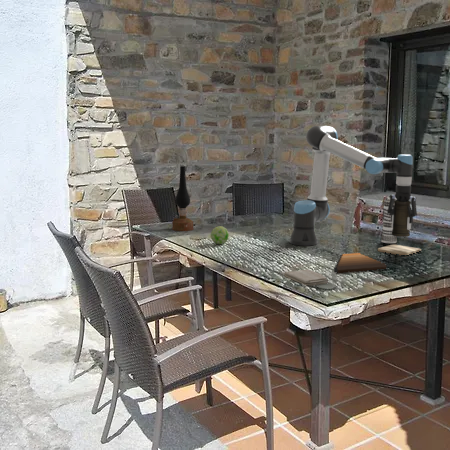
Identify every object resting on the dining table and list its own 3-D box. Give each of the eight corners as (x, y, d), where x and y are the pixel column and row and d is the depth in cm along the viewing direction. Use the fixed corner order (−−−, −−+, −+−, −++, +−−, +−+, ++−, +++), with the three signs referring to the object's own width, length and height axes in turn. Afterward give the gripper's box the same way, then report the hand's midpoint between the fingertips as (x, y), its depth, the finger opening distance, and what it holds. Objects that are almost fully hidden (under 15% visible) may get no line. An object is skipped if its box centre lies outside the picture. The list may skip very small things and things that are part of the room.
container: (413, 236, 297) (415, 201, 294) (400, 237, 293) (402, 202, 290) (400, 233, 305) (402, 199, 302) (387, 234, 301) (389, 200, 298)
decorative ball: (226, 246, 308) (227, 228, 306) (208, 245, 310) (208, 227, 308) (230, 242, 318) (230, 225, 316) (212, 242, 320) (213, 224, 318)
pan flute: (337, 274, 254) (386, 270, 262) (338, 267, 254) (386, 263, 261) (312, 261, 278) (358, 258, 285) (312, 255, 277) (358, 252, 285)
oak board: (405, 256, 289) (405, 253, 289) (377, 251, 300) (377, 248, 300) (420, 251, 300) (421, 248, 300) (393, 246, 311) (393, 244, 311)
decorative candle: (394, 244, 319) (397, 199, 315) (378, 242, 324) (381, 198, 320) (399, 241, 327) (402, 198, 322) (383, 239, 332) (385, 196, 327)
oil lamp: (197, 234, 360) (210, 171, 356) (182, 233, 347) (196, 168, 343) (179, 229, 367) (192, 168, 363) (165, 228, 354) (178, 165, 350)
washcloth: (306, 287, 233) (307, 280, 233) (282, 277, 249) (283, 270, 249) (330, 284, 239) (330, 277, 238) (305, 274, 254) (305, 267, 254)
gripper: (426, 185, 289) (423, 230, 293) (389, 182, 304) (386, 224, 308) (419, 186, 284) (416, 231, 288) (381, 183, 299) (379, 226, 303)
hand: (401, 228), depth 298 cm, fingers closed on container, 8 cm apart
